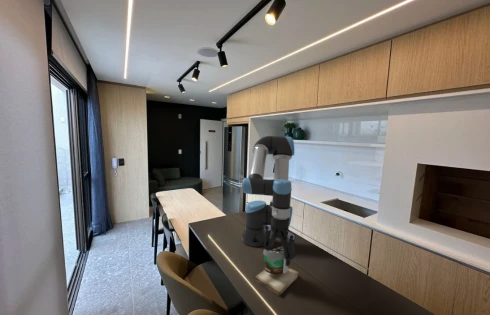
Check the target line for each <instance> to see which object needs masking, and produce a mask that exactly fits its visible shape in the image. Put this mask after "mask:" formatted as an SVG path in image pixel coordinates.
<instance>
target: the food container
mask: <svg viewBox="0 0 490 315" xmlns="http://www.w3.org/2000/svg"><path fill="white" fill-rule="evenodd" d="M262 254H263V256H264V258H263V259H264V270H265V271H266V272H268V273H270V274H274V275H279V274H282V273H283V265H284V258H285V253H284V249H283V245H281V246H275V247H272V248H271V249H270V250H267V249H265V248H264V249H263V252H262Z"/></svg>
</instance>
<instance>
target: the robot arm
mask: <svg viewBox="0 0 490 315" xmlns="http://www.w3.org/2000/svg"><path fill="white" fill-rule="evenodd" d="M294 142H295V141H294V138H293V137H291V136H286V135H282V136H280V135H279V136H278V135H266V136H263V137H261V138H259V139H258V140H257V141H256V142H255V144H254V145H253V148H252V154H253V156H252V159H251V163H250V164H251V165H250V168H249V174H248V177H243V179H242V183H241V192H242V193H244V194H245V195H246V194H247V195H254V196H255V195H259V196H268V197H272V199H271V200H270V201H269V204H267V202H266V201H264V200H252V201H249V202H248V203H247V204H246V207H245V226H244V229H243V233H242V235H241V241H242V243H243V244H244V245H247V246H249V247H252V248H253V247H257V248H258V247H262V246H263V247H264V248H266V250H270V249H272V248H273V246H274V244H275V242H276V240H277V239H279V240H280V242H281V245H282V246H283V249H284V253H285V258H284V265H283V273H284V274H285V273H286V272H287V271H288V267H289V266H290V265H291V260H293V259H295V257H296V244H295V238H296V233H292V232H290V225H291V222H292V216H293V207H292V206H291V200H292V199H291V198H292V190H293V189H292V188H293V187H292V181H290V180H289V174H290V172H289V171H290V160H291V159H292V157H293V156H295V143H294ZM268 155H272V158H273V159H274V168H273V169H274V170H273V179H267V178H264V177H265V170H266V169H265V168H266V160H267V156H268Z"/></svg>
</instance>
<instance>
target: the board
mask: <svg viewBox="0 0 490 315" xmlns="http://www.w3.org/2000/svg"><path fill="white" fill-rule="evenodd" d="M299 273H300V272H298V271H296V270H295V269H293V268H290V267H289V266H288V271H287V272H286V273H285V274H284V273H282V274H279V275H274V274H270V273H268V272H266V271H265V269H263V270H262V271H261V272H259V273H258V274H257V275H256V276H254V282H255V283H257V284H258V285H260V286H262V287H263V288H266V289H267V290H268V291H269V292H271V293H273V294H275V295H277V296H278V297H280V296H281V295H282V294H283V293H284V292H285V291H286V290H287V288H289V287H290V286H291V284H292V283H294V281H296V280H297V279H298V277H299V275H300V274H299Z"/></svg>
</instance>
